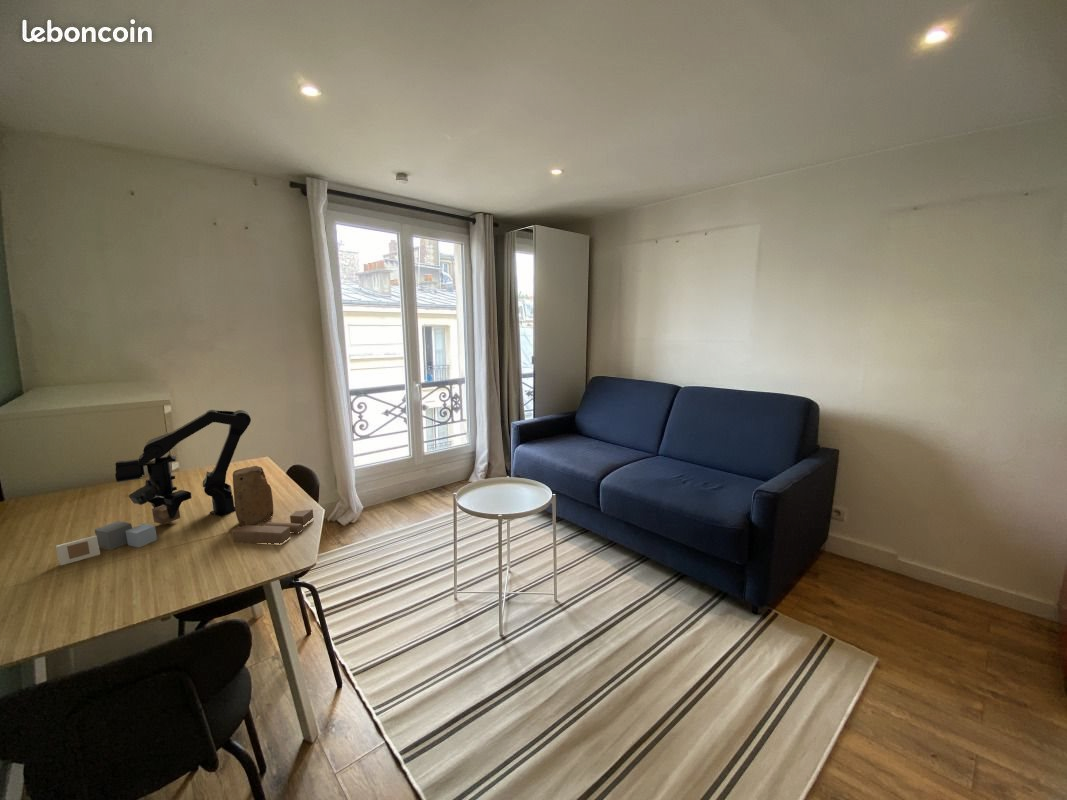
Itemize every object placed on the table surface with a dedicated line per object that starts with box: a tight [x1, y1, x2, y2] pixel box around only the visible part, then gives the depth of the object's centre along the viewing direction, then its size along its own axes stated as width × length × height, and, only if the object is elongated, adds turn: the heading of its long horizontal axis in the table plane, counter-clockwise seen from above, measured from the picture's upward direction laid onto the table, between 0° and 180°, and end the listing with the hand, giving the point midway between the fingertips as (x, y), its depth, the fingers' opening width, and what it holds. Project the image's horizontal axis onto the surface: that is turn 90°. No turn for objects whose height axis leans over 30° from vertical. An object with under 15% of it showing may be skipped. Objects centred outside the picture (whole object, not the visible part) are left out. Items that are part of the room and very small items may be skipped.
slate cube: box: [125, 523, 158, 549], centre depth 129 cm, size 5×5×5 cm
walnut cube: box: [151, 505, 181, 525], centre depth 141 cm, size 5×5×5 cm
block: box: [232, 465, 274, 527], centre depth 143 cm, size 11×8×20 cm
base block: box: [94, 520, 133, 551], centre depth 128 cm, size 6×6×6 cm
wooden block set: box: [231, 509, 314, 544], centre depth 137 cm, size 17×6×18 cm
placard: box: [55, 534, 101, 566], centre depth 119 cm, size 1×8×6 cm, turn 139°
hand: (166, 517), depth 141 cm, fingers closed on walnut cube, 5 cm apart
